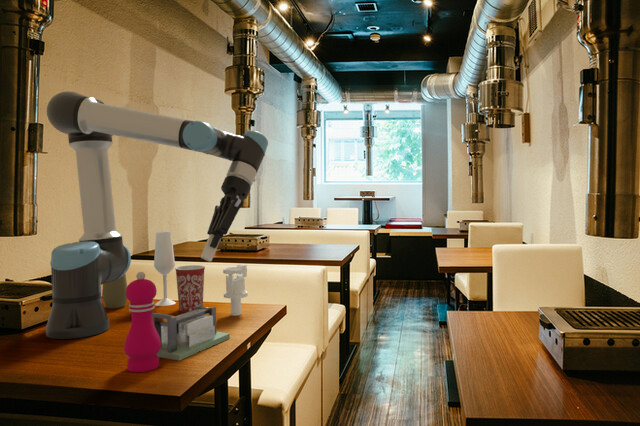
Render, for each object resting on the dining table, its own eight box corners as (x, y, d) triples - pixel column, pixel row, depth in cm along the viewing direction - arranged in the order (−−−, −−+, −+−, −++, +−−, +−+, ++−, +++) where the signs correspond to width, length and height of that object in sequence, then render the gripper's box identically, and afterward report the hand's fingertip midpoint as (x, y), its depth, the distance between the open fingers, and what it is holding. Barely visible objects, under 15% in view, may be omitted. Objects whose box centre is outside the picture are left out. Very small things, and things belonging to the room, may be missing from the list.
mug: (205, 312, 150) (204, 268, 149) (174, 313, 148) (173, 269, 148) (207, 303, 162) (206, 263, 162) (179, 304, 161) (178, 264, 160)
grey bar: (202, 311, 123) (202, 303, 123) (211, 312, 121) (211, 304, 121) (159, 326, 110) (158, 317, 110) (169, 328, 108) (168, 318, 108)
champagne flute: (168, 306, 159) (166, 232, 158) (150, 305, 161) (148, 232, 160) (180, 301, 165) (178, 231, 164) (162, 301, 167) (160, 231, 166)
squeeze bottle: (134, 305, 161) (132, 251, 160) (112, 310, 154) (110, 253, 153) (118, 303, 165) (117, 250, 164) (96, 308, 158) (94, 252, 157)
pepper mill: (165, 361, 105) (163, 268, 105) (155, 373, 98) (152, 274, 97) (132, 361, 105) (129, 269, 104) (119, 374, 98) (116, 275, 97)
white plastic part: (242, 317, 142) (241, 266, 141) (220, 316, 144) (218, 266, 143) (251, 312, 149) (250, 263, 148) (230, 311, 151) (229, 262, 150)
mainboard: (195, 333, 126) (195, 328, 126) (229, 338, 122) (229, 333, 121) (141, 354, 110) (141, 348, 110) (179, 360, 105) (178, 355, 105)
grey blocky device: (193, 330, 124) (193, 299, 124) (222, 334, 120) (221, 301, 120) (146, 348, 110) (145, 312, 110) (176, 353, 106) (175, 316, 106)
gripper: (261, 183, 131) (229, 263, 122) (239, 193, 141) (208, 267, 132) (238, 169, 128) (203, 250, 118) (217, 180, 138) (183, 255, 128)
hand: (205, 259), depth 125 cm, fingers closed
